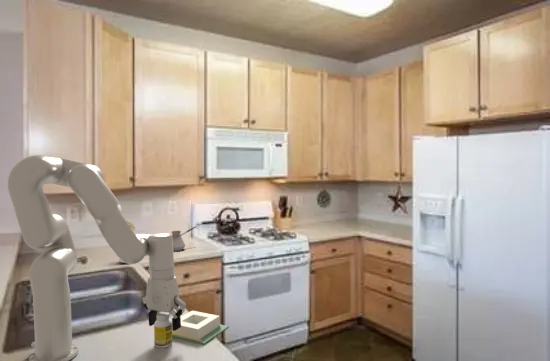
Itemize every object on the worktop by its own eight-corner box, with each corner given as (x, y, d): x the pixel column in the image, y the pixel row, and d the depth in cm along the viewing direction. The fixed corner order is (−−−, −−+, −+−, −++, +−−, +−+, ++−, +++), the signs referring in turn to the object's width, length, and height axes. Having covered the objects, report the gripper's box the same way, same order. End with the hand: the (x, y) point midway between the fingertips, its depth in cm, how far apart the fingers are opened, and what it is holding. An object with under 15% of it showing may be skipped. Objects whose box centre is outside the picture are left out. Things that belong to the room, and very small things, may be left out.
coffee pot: (171, 252, 252) (171, 230, 251) (165, 250, 261) (164, 228, 260) (201, 248, 264) (200, 226, 264) (194, 245, 274) (193, 225, 273)
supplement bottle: (167, 349, 117) (166, 317, 117) (151, 347, 118) (150, 316, 118) (175, 341, 122) (174, 311, 122) (159, 340, 123) (158, 310, 123)
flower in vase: (139, 263, 225) (138, 221, 224) (119, 265, 221) (117, 222, 220) (139, 258, 237) (137, 218, 237) (119, 260, 233) (118, 219, 232)
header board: (160, 334, 127) (160, 322, 127) (187, 319, 140) (187, 308, 140) (204, 344, 119) (203, 332, 119) (228, 327, 132) (228, 316, 132)
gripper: (132, 273, 120) (135, 327, 121) (175, 279, 112) (178, 336, 113) (150, 267, 127) (153, 318, 127) (191, 272, 119) (194, 326, 119)
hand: (164, 326), depth 120 cm, fingers open, 9 cm apart
